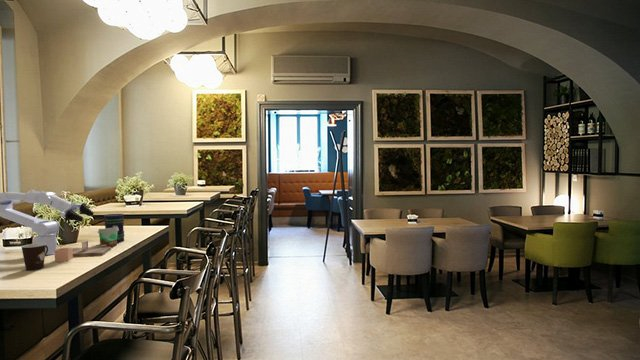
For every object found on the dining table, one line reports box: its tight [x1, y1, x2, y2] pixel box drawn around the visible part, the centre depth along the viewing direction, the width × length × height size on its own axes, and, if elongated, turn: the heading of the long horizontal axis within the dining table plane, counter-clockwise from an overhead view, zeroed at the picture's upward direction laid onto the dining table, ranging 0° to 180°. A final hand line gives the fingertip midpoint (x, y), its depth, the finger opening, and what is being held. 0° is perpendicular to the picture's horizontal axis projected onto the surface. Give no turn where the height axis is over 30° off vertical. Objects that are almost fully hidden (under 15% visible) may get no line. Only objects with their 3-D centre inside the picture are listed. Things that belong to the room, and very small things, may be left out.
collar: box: [54, 247, 74, 263], centre depth 205 cm, size 6×6×5 cm
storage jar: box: [104, 213, 125, 244], centre depth 249 cm, size 10×10×15 cm
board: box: [71, 246, 112, 258], centre depth 218 cm, size 20×14×2 cm
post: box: [81, 240, 89, 251], centre depth 218 cm, size 2×2×4 cm
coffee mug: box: [21, 243, 48, 272], centre depth 190 cm, size 12×9×10 cm
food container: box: [97, 226, 119, 248], centre depth 235 cm, size 12×6×10 cm, turn 168°
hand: (87, 217), depth 216 cm, fingers open, 7 cm apart
